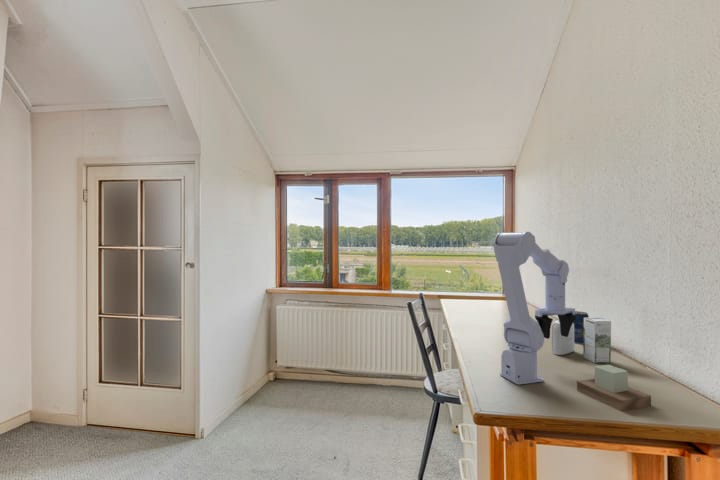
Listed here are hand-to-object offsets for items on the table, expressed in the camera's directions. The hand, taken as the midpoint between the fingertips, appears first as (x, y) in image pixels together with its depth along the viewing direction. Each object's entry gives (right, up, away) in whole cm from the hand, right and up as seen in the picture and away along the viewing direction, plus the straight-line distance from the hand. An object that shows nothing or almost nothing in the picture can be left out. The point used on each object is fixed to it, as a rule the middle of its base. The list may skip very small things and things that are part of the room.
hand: (555, 336), depth 113 cm
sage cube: (+1, -7, -23) cm, 24 cm away
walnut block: (+2, -10, -23) cm, 25 cm away
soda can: (+26, -10, +27) cm, 38 cm away
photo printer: (+11, -10, +14) cm, 20 cm away
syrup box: (+17, -10, +5) cm, 20 cm away
